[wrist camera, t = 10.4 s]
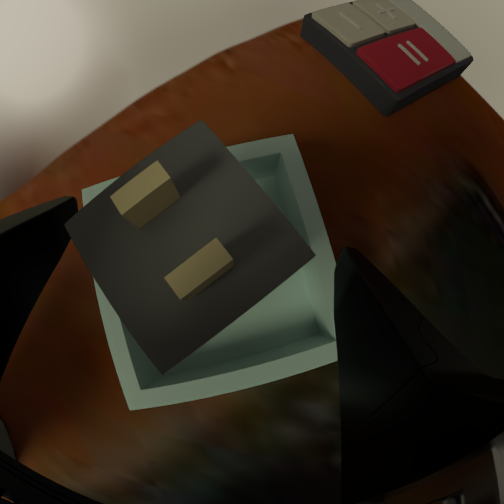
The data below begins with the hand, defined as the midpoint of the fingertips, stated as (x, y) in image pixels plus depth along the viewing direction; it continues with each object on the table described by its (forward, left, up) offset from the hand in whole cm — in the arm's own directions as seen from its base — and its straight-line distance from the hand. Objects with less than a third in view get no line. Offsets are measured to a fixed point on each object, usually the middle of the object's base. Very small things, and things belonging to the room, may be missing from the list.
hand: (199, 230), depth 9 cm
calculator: (+16, -20, -10) cm, 27 cm away
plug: (-1, 0, -8) cm, 9 cm away
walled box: (-1, 0, -9) cm, 9 cm away
